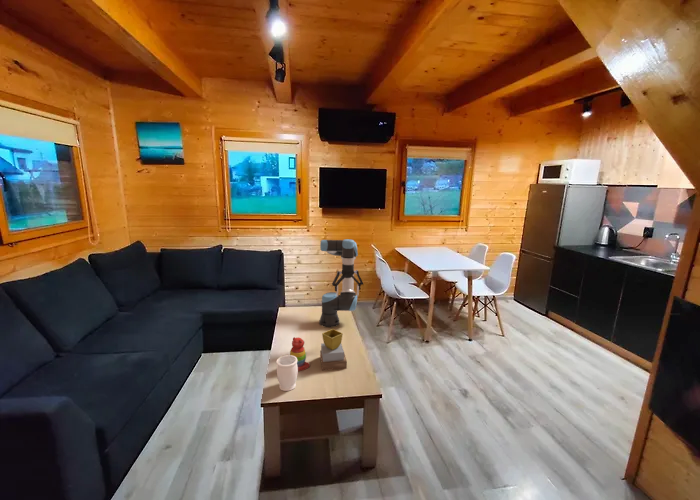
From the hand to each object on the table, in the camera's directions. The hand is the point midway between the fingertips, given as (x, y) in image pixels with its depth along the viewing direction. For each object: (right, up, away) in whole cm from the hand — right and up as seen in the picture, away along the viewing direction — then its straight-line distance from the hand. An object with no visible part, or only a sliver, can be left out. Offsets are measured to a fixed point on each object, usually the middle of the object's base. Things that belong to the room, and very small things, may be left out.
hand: (347, 295), depth 204 cm
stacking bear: (-28, -38, -23) cm, 53 cm away
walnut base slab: (-8, -38, -19) cm, 43 cm away
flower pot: (-9, -28, -20) cm, 35 cm away
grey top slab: (-9, -33, -19) cm, 39 cm away
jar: (-31, -42, -41) cm, 66 cm away
